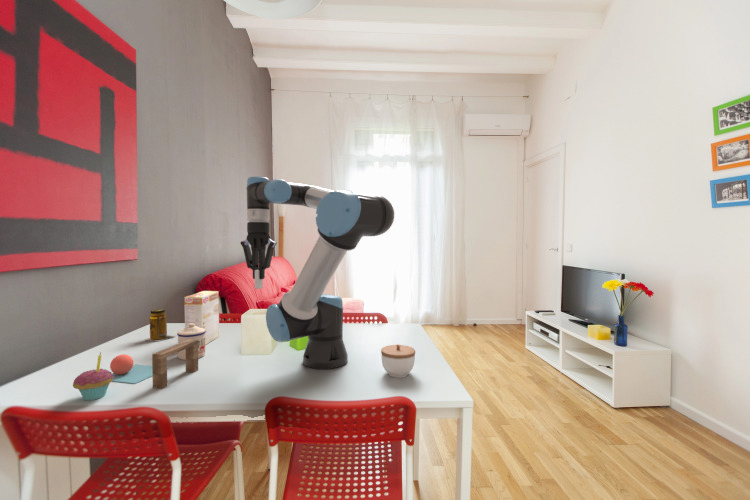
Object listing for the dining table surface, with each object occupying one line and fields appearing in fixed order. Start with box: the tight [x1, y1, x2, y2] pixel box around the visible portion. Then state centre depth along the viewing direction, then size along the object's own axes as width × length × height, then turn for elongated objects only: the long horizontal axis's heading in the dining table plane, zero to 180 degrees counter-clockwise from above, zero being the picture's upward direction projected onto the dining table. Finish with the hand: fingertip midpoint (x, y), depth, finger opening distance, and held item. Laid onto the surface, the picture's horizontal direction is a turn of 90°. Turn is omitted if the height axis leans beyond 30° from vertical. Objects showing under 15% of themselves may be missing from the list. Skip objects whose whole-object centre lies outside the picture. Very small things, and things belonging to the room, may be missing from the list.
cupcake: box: [72, 352, 114, 401], centre depth 99 cm, size 9×8×12 cm
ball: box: [109, 353, 135, 375], centre depth 115 cm, size 6×6×6 cm
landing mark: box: [112, 364, 170, 385], centre depth 115 cm, size 13×13×1 cm
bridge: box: [151, 339, 199, 390], centre depth 112 cm, size 3×15×10 cm, turn 167°
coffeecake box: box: [183, 290, 220, 346], centre depth 150 cm, size 15×7×20 cm, turn 178°
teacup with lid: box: [176, 323, 206, 361], centre depth 134 cm, size 12×9×12 cm
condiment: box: [146, 308, 176, 342], centre depth 154 cm, size 7×8×12 cm
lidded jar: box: [380, 343, 416, 379], centre depth 117 cm, size 11×11×9 cm
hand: (258, 288), depth 132 cm, fingers closed
